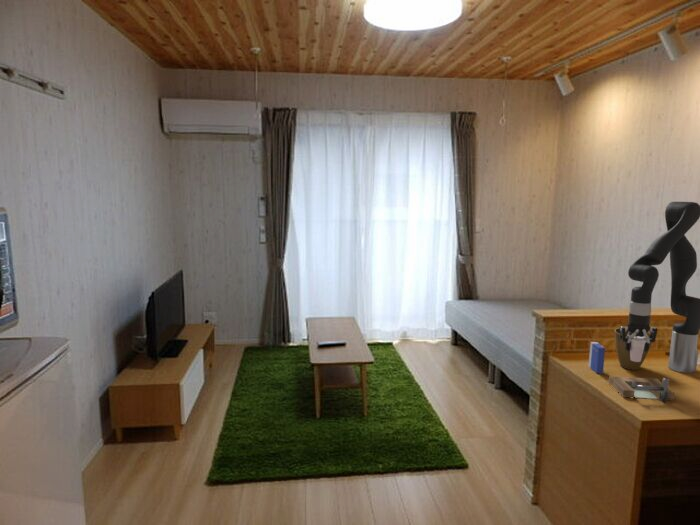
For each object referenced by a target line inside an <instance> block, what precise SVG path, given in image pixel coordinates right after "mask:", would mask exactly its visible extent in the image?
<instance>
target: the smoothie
mask: <svg viewBox="0 0 700 525" xmlns="http://www.w3.org/2000/svg"><path fill="white" fill-rule="evenodd" d="M630 343H631V346H630V359H631V361H634V362H641V358H642V354H643V350H644V346H645V343H646V339H645V338H643V337H639V336H635V337H634V338H633V339H631V342H630Z"/></svg>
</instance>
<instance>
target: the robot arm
mask: <svg viewBox="0 0 700 525" xmlns="http://www.w3.org/2000/svg"><path fill="white" fill-rule="evenodd" d="M664 218H665V225H666V229H667V231H666V232H664V233H663V234H661V235H659V236H658V237H657V238H655V239H654V240H653V241H652V243H651V244H650V245H649V247H648V248H647V250H646V251H645V253H644V254H642V255H641V256H640V257H638V259H637V260H636V261H634V262H633V263H632V264H631V265H630V266H629V268H628V271H627V274H628V278H630V279H631V280H632V281H636V282H640V283H642V285H641V286H634V287H633V288H632V289H631V294H630V295H631V296H630V303H629V310H628V311H629V312H628V322H627V323H628V324H627V325H626V326H622V325H621V326H619V328H620V339H621V340H623V341H625V349H626V350H627V351H630V346H631V343H630V342H631V339H633V338H634V337H635V336H641V337H643V338H645V339H646V343H645V346H644V351H645V352H647V351H648V350H649V351H650V349H649V344H650V342H652V343H655V342H656V338H657V334H658V330H659V329H658V328H657V327H656V326H650V323H651V317H652V316H651V315H652V314H651V313H652V294H653V291H654V289H655V286H656V284H657V282H658V281H659V280H658V279H659V275H660V274H659V270H658V268H657V267H656V266H659V265H662V263H663V262H664V261H665V260H666V258H667V256H668V255H669V263H670V265H669V266H670V276H671V279H670V280H671V289H670V309H671V312H672V313H673V314H674V315H677V316H681V317H685V321H684V322H676V323H673V324H672V325H673V326H672V332H671V333H672V334H671V341H670V349H669V357H668V364H667V365H668V366H667V367H668V368H669V369H671V371H676V372H679V373H684V374H685V373H686V374H691V373H692V374H693V373H696V372H697V368H698V367H697V366H698V359H699V350H697V349H698V348H697V347H698V340H699V332H700V298H699V297H695V296H690V295H687V293H686V291H687V290H686V288H687V283H688V282H689V280H691V278H692V277H693V275H694V274H695V273H696V272H697V268H698V257H697V256H698V255H697V252H696V250H695V248H694V247H693V244H692V243H691V242H690V241H689V239H688V238H687V236H686V234H687V232H688V231H690V230H691V228H693V226H694V225H695V224H696V223H697V222H698V221H699V219H700V204H699V203H698V202H695V201H671V202H669V203H668V204H667V205H666V207H665V211H664ZM627 329H628V330H629V332H628V334H627V337H626V333H625V332H626V331H627ZM647 332H649V333H650V336H649V337H648V335H647ZM631 334H632V335H631ZM649 351H648V352H649Z"/></svg>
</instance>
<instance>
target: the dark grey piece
mask: <svg viewBox="0 0 700 525" xmlns="http://www.w3.org/2000/svg"><path fill="white" fill-rule="evenodd" d="M661 381H662V382H661V383H662V386H643V385H637V382H635V381H632V388H633V389H637V390H656V391H661V397H660V400H659V401H660V402H662V403H667V401H668V400H667V393H668V388H669V384H670V379H669V378H667V377H662V380H661Z"/></svg>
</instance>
